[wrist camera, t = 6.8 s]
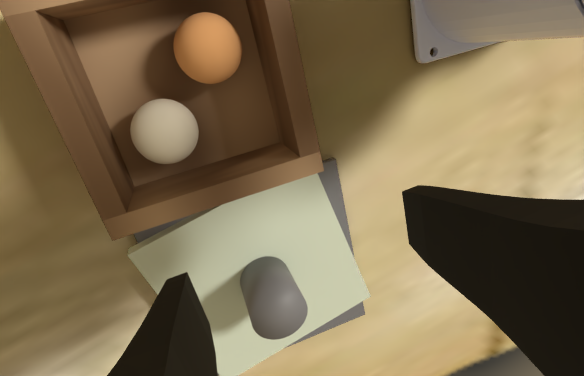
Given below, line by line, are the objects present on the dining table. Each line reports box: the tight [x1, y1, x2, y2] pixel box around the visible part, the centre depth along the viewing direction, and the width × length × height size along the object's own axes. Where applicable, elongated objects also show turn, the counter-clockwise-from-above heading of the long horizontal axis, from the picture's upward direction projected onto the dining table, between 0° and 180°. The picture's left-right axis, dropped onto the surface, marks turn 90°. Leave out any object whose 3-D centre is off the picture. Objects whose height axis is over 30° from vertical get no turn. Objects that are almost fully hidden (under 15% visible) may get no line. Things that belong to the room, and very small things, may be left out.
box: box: [0, 0, 324, 241], centre depth 17 cm, size 10×10×4 cm
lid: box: [127, 173, 371, 376], centre depth 21 cm, size 11×11×4 cm
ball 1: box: [130, 99, 199, 164], centre depth 17 cm, size 3×3×3 cm
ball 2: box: [173, 12, 242, 84], centre depth 17 cm, size 3×3×3 cm
